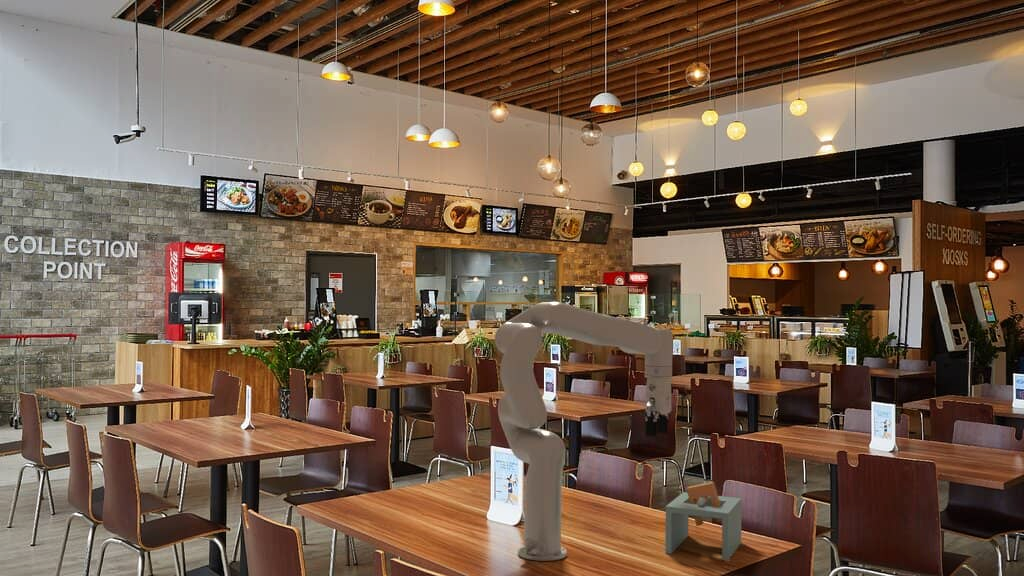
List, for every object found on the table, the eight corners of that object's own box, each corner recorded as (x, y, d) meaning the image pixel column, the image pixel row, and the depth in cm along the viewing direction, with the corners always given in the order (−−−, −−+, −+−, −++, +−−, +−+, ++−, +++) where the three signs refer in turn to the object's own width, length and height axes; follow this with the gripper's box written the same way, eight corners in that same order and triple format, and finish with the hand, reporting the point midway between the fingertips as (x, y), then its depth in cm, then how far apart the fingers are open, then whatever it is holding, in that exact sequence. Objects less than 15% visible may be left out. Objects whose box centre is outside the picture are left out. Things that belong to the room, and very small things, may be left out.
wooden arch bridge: (724, 519, 213) (713, 481, 215) (722, 521, 210) (711, 483, 212) (699, 523, 216) (688, 486, 217) (696, 525, 213) (686, 488, 215)
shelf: (728, 561, 201) (728, 506, 202) (665, 552, 208) (665, 500, 208) (741, 542, 219) (741, 492, 220) (683, 535, 226) (683, 486, 226)
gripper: (662, 374, 214) (660, 438, 213) (680, 372, 229) (678, 432, 228) (635, 372, 217) (633, 436, 216) (654, 371, 233) (653, 430, 232)
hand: (656, 434), depth 222 cm, fingers open, 9 cm apart
